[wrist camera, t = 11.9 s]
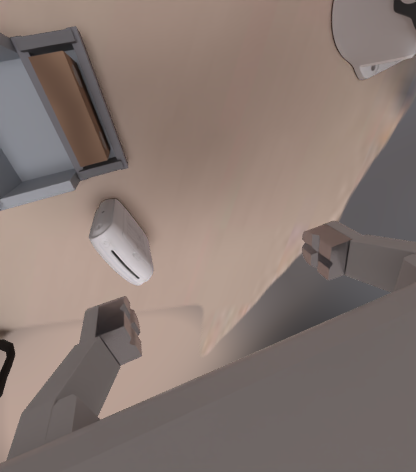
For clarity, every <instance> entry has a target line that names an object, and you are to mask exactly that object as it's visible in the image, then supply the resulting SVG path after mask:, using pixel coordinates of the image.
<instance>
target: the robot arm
mask: <svg viewBox="0 0 416 472" xmlns="http://www.w3.org/2000/svg"><path fill="white" fill-rule="evenodd" d="M332 28H333V35H334V40H335V43H336V46H337V48H338V50H339V52H340V54H341V55H342V56H343V57H344V58H345V59H346V60H347V61H348V62H349V63H351V64H352V66H353V67H354V70H355V72H356V75H357V77H358V78H359V79H360V80H364V79H368V78H370V77H372V76H374V75H376V74H378V73H380V72H382V71H384V70H386V69H388V68H389V67H391V66H393V65H395V64H397V63H399V62H401V61H403V60H405V59H409V58H412V57H413V56H414V55H415V54H416V0H334V4H333V12H332ZM371 67H372V69H371ZM302 240H303V241H304V242H305V244H304V245H303V247H302V254H303V257H304V259H305V260H306V262H307V263H308V264H309V265H310V266H313V267H317V271H318V273H320V274H321V275H322V276H323V277H324V278H325V279H327V280H331V279H334V278H337V277H339V276H342V275H346V276H348V277H351V278H354V279H356V280H359V281H362V282H364V283H367V284H370V285H373V286H375V287H378V288H381V289H383V290H386V291H389V292H392V293H390V294H388V295H385V296H383V297H381V298H378V299H376V300H374V301H371V302H369V303H367V304H365V305H362V306H360V307H358V308H355V309H353V310H351V311H349V312H346V313H344V314H342V315H339V316H337V317H335V318H333V319H330V320H328V321H326V322H323V323H321V324H319V325H317V326H314V327H312V328H310V329H308V330H306V331H303V332H301V333H298V334H296V335H294V336H291V337H289V338H287V339H284V340H282V341H280V342H278V343H276V344H273V345H271V346H268V347H266V348H264V349H262V350H260V351H257V352H255V353H252V354H250V355H248V356H246V357H243V358H241V359H239V360H236V361H234V362H232V363H230V364H227V365H225V366H223V367H220V368H218V369H216V370H213V371H211V372H209V373H206V374H204V375H202V376H200V377H197V378H195V379H193V380H191V381H188V382H186V383H184V384H181V385H179V386H177V387H174V388H172V389H170V390H168V391H165V392H163V393H161V394H158V395H156V396H154V397H151V398H149V399H147V400H145V401H142V402H140V403H138V404H136V405H133V406H131V407H129V408H126V409H124V410H122V411H119V412H117V413H115V414H113V415H111V416H108V417H106V418H104V419H101V420H100V419H99V418H98V415H99V413H100V410H101V408H102V406H103V404H104V402H105V400H106V397H107V395H108V393H109V391H110V389H111V386H112V384H113V382H114V380H115V378H116V376H117V373H118V371H119V369H120V366H121V365H123V364H125V363H127V362H129V361H132V360H134V359H137V358H139V357H141V356H142V351H141V341H140V339H139V337H138V335H139V333H140V327H139V322H138V318H137V316H136V313H135V311H134V310H132V309H130V302H129V300H128V298H127V297H126V296H124V297H121V298H118V299H115V300H112V301H109V302H106V303H103V304H100V305H97V306H94V307H91V308H89V309H87V310H86V311H85V315H84V320H83V326H82V331H81V337H80V343H79V344H77V345H75V346H74V348H73V349H72V350H71V351H70V353H69V354H68V355H67V357H66V358H65V359H64V360H63V362H62V363H61V364H60V365H59V367H58V368H57V369H56V370H55V372H54V373H53V374H52V376H51V377H50V378H49V379H48V381H47V382H46V383H45V384H44V386H43V387H42V388H41V390H40V391H39V392H38V393H37V395H36V396H35V397H34V399H33V400H32V401H31V402H30V404H29V405H28V406H27V407H26V409H25V410H24V411H23V412H22V414H21V417H20V420H19V423H18V426H17V429H16V433H15V436H14V439H13V442H12V445H11V448H10V451H9V454H8V457H7V460H6V461H5V462H3V463H0V472H416V242H412V241H405V240H399V239H392V238H386V237H379V236H372V235H364V236H363V235H361V234H359V233H358V232H356V231H354V230H352V229H350V228H348V227H347V226H345V225H343V224H341V223H339V222H337V221H331V222H328V223H325V224H323V225H321V226H318V227H315V228H313V229H310V230H307V231H304V233H303V236H302Z"/></svg>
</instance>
